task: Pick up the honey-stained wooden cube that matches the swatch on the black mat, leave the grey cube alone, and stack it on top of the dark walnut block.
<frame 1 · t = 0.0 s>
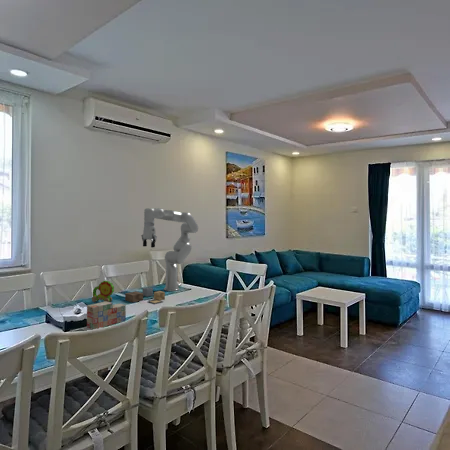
hand: (148, 246, 276), 37 cm above the table, tool pointing down, fingers open, 9 cm apart
grey cube: (147, 295, 275), on the table
stack of blocks: (106, 324, 205), on the table
walnut block: (134, 300, 259), on the table
honey cube: (159, 299, 263), on the table
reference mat: (155, 302, 255), on the table
toy lion: (103, 302, 252), on the table
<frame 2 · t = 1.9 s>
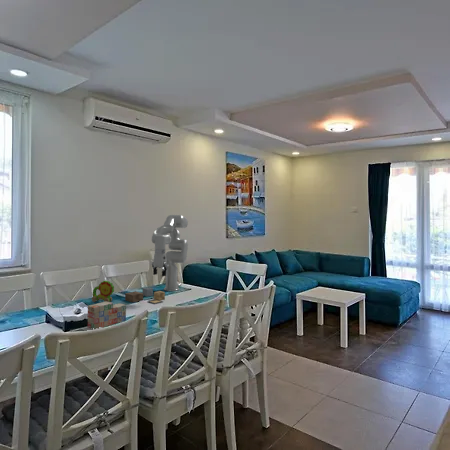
hand: (159, 275, 262), 18 cm above the table, tool pointing down, fingers open, 9 cm apart
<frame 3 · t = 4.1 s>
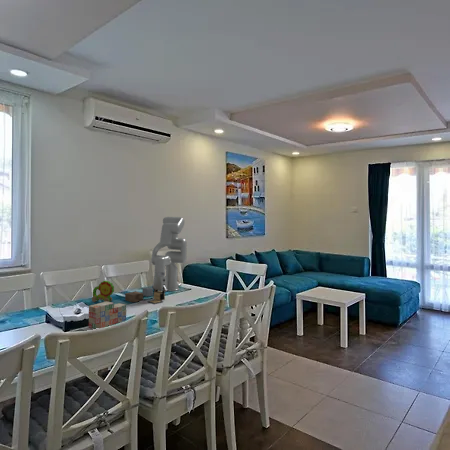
hand: (159, 298, 263), 1 cm above the table, tool pointing down, fingers closed on honey cube, 5 cm apart
honey cube: (159, 299, 263), on the table, touching gripper
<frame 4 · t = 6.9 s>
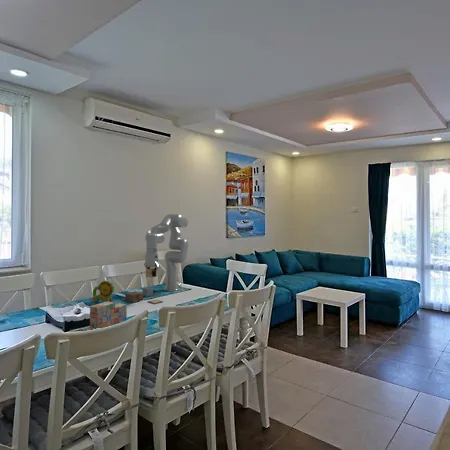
hand: (151, 275, 261), 18 cm above the table, tool pointing down, fingers closed on honey cube, 5 cm apart
honey cube: (151, 276, 261), point 17 cm above the table, touching gripper
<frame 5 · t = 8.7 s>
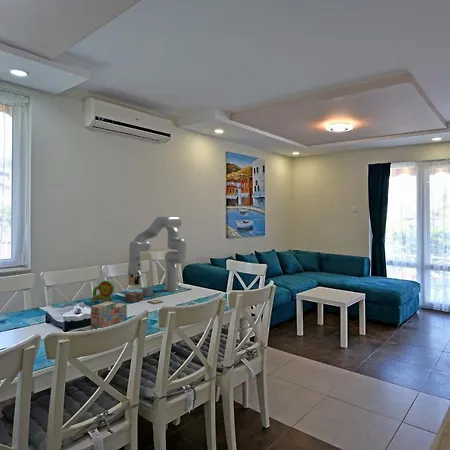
hand: (134, 283, 258), 12 cm above the table, tool pointing down, fingers closed on honey cube, 5 cm apart
honey cube: (134, 284, 258), point 11 cm above the table, touching gripper
when the fingers open (7 cm above the table, at t = 10.0 s): honey cube drops 1 cm, resting on walnut block.
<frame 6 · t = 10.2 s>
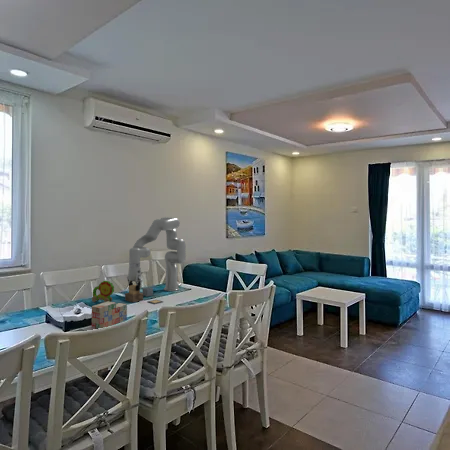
hand: (134, 289, 259), 8 cm above the table, tool pointing down, fingers open, 7 cm apart
honey cube: (134, 293, 259), point 5 cm above the table, touching walnut block
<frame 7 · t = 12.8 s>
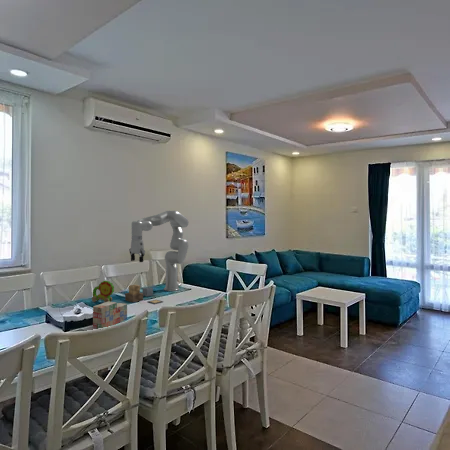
hand: (137, 261, 265), 27 cm above the table, tool pointing down, fingers open, 9 cm apart
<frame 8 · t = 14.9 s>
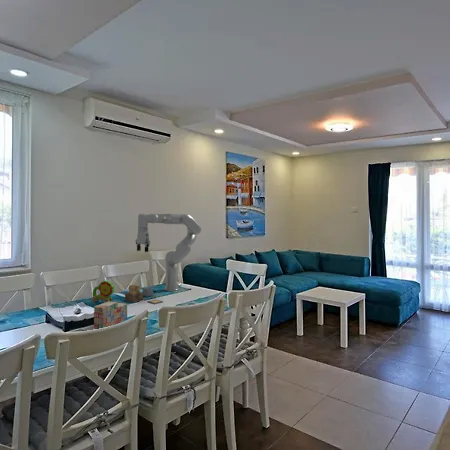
hand: (142, 251, 284), 32 cm above the table, tool pointing down, fingers open, 9 cm apart
at the end: honey cube 0.0 cm off-centre on the walnut block, point 5.0 cm above the walnut block's base; honey cube tilted 0°; grey cube moved 0.1 cm from its start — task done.
